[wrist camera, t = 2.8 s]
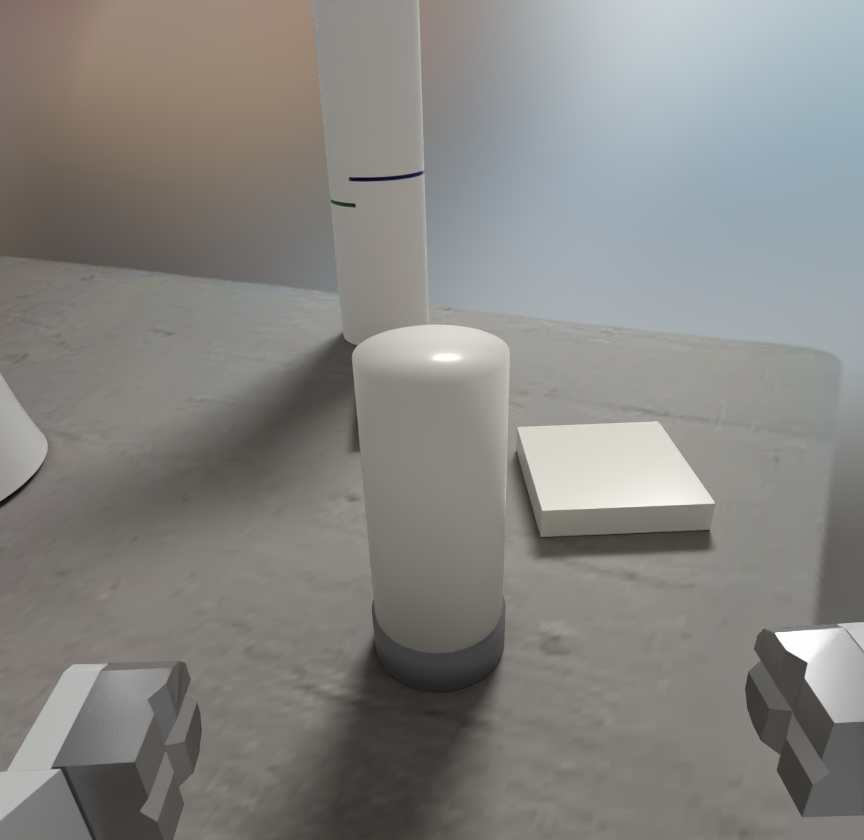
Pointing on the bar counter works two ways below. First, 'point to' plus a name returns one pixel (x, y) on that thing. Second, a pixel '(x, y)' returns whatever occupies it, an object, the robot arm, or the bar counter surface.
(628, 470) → the stone pad
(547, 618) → the bar counter surface
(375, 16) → the cylindrical container
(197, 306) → the bar counter surface
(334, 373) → the bar counter surface
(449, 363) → the white rounded-top cylinder
